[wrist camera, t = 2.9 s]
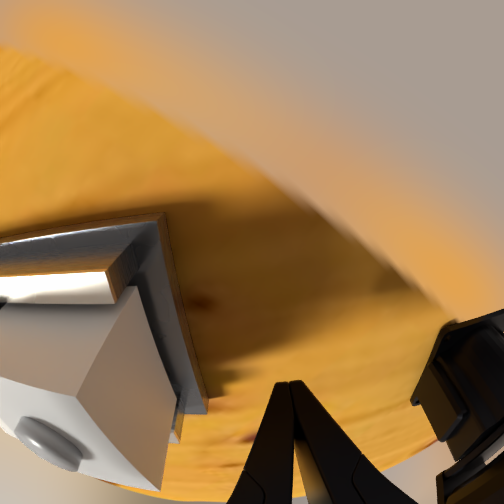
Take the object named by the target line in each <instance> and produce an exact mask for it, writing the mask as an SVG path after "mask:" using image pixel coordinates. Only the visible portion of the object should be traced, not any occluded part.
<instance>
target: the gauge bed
mask: <svg viewBox="0 0 504 504" xmlns="http://www.w3.org/2000/svg"><path fill="white" fill-rule="evenodd" d="M127 286H137V288H138V292H139V295H140V298H141V302H142V305H143V308H144V312H145V315H146V318H147V321H148V324H149V327H150V330H151V333H152V336H153V339H154V342H155V344H156V347H157V350H158V353H159V355H160V358H161V361H162V363H163V366H164V369H165V371H166V374H167V376H168V379H169V381H170V384H171V386H172V389H173V391H174V393H175V396H176V398H177V401H176V406H175V411H174V416H173V421H172V427H171V432H170V438H169V443H178V444H180V438H181V432H182V426H183V420H184V414H207V412H208V402H209V399H208V396H207V392H206V389H205V386H204V382H203V379H202V376H201V372H200V369H199V365H198V362H197V358H196V354H195V351H194V347H193V343H192V339H191V335H190V331H189V327H188V323H187V319H186V315H185V311H184V307H183V302H182V298H181V294H180V289H179V285H178V280H177V275H176V270H175V265H174V261H173V255H172V250H171V245H170V240H169V234H168V228H167V223H166V217H165V212H161V213H152V214H144V215H136V216H129V217H121V218H114V219H107V220H100V221H93V222H87V223H80V224H74V225H68V226H62V227H56V228H50V229H45V230H39V231H34V232H28V233H23V234H18V235H13V236H8V237H3V238H0V302H9V303H37V304H115V303H116V301H117V300H118V298H119V297H120V295H121V294H122V292H123V291H124V289H125V288H126V287H127Z"/></svg>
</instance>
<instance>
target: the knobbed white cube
mask: <svg viewBox="0 0 504 504" xmlns="http://www.w3.org/2000/svg"><path fill="white" fill-rule="evenodd" d="M176 401H177V398H176V396H175V393H174V391H173V389H172V386H171V384H170V381H169V379H168V376H167V374H166V371H165V369H164V366H163V363H162V361H161V358H160V355H159V353H158V350H157V347H156V344H155V342H154V339H153V336H152V333H151V330H150V327H149V324H148V321H147V318H146V315H145V312H144V308H143V305H142V302H141V298H140V295H139V292H138V288H137V286H127V287H126V288H125V289H124V291H123V292H122V294H121V295H120V297H119V298H118V300H117V301H116V303H115V304H37V303H9V302H7V303H6V304H5V305H4V306H3V307H2V308H1V309H0V418H1V419H2V421H3V422H4V423H5V424H6V425H7V426H8V427H9V428H10V429H11V430H12V431H13V432H14V433H15V435H16V436H17V438H18V439H19V440H20V441H21V442H22V443H23V444H24V445H25V446H26V447H27V448H29V449H30V450H31V451H33V452H34V453H35V454H36V455H37V456H39V457H40V458H41V459H44V460H46V461H48V462H50V463H52V464H53V465H56V466H58V467H60V468H62V469H65V470H68V471H72V472H79V473H82V474H85V475H88V476H91V477H95V478H98V479H102V480H105V481H109V482H113V483H117V484H122V485H126V486H131V487H136V488H141V489H147V490H153V491H159V492H160V491H161V484H162V478H163V472H164V466H165V460H166V454H167V449H168V443H169V438H170V432H171V427H172V421H173V416H174V411H175V406H176Z"/></svg>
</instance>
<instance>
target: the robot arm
mask: <svg viewBox="0 0 504 504" xmlns="http://www.w3.org/2000/svg"><path fill="white" fill-rule="evenodd" d="M503 332H504V309H501V310H499V311H496V312H493V313H490V314H487V315H484V316H481V317H478V318H475V319H471V320H468V321H465V322H461V323H458V324H454V325H451V326H447V327H445V328H444V329H442V330H441V331H440V333H439V334H438V336H437V339H436V342H435V344H434V347H433V350H432V352H431V355H430V357H429V359H428V362H427V364H426V367H425V369H424V371H423V373H422V376H421V378H420V380H419V382H418V384H417V386H416V389H415V391H414V393H413V395H412V397H411V399H410V402H411V404H412V406H417V405H420V404H421V406H422V408H423V410H424V412H425V414H426V416H427V418H428V420H429V422H430V424H431V426H432V428H433V430H434V432H435V434H436V436H437V438H438V440H439V441H440V442H445V441H446V442H447V445H448V447H449V449H450V451H451V453H452V456H453V458H454V460H455V462H456V461H458V460H459V461H458V462H457V463H455V464H454V465H453V466H452V467H450V468H449V469H447V470H444V471H443V472H441V473H440V474H438V475H437V476H436V486H437V503H438V504H504V451H503V452H502V453H501V454H500V455H498V456H497V457H496V458H495V459H494V460H493V461H491V462H490V463H489V464H487V465H486V464H485V463H484V462H485V461H486V460H488V459H489V458H490V457H491V456H493V455H494V454H495V453H496V452H497V451H498V450H499V449H501V448H502V447H503V446H504V333H503ZM294 449H295V453H296V457H297V461H298V465H299V468H300V472H301V476H302V480H303V484H304V488H305V492H306V496H307V500H308V504H418V503H417V502H415V501H414V500H413V499H412V498H410V497H409V496H408V495H407V494H405V493H404V492H403V491H401V490H400V489H399V488H398V487H397V486H395V485H394V484H393V483H391V482H390V481H389V480H388V479H387V478H386V477H385V476H384V475H383V474H381V473H380V472H379V471H378V470H377V469H376V468H375V466H374V465H373V464H372V463H371V462H370V461H369V460H368V459H367V458H366V457H365V455H364V454H362V452H361V451H360V450H359V449H358V447H357V446H356V445H355V444H354V443H353V442H352V440H351V439H350V438H349V437H348V436H347V434H346V433H345V432H344V431H343V430H342V429H341V427H340V426H339V425H338V424H337V423H336V421H335V420H334V419H333V418H332V417H331V415H330V414H329V413H328V412H327V410H326V409H325V408H324V407H323V406H322V404H321V403H320V402H319V401H318V399H317V398H316V397H315V396H314V394H313V393H312V392H311V391H310V389H309V388H308V387H307V386H306V384H305V383H304V382H303V381H302V380H294V381H290V382H289V383H288V382H286V381H285V382H276V383H275V385H274V388H273V391H272V394H271V396H270V399H269V402H268V405H267V408H266V411H265V413H264V416H263V419H262V422H261V424H260V427H259V430H258V432H257V435H256V438H255V440H254V443H253V446H252V448H251V451H250V453H249V456H248V458H247V461H246V463H245V466H244V468H243V469H244V470H243V471H242V473H241V475H240V478H239V480H238V482H237V484H236V486H235V489H234V491H233V493H232V495H231V496H230V498H229V500H228V501H227V503H226V504H292V487H293V463H294ZM460 459H461V460H460Z"/></svg>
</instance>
